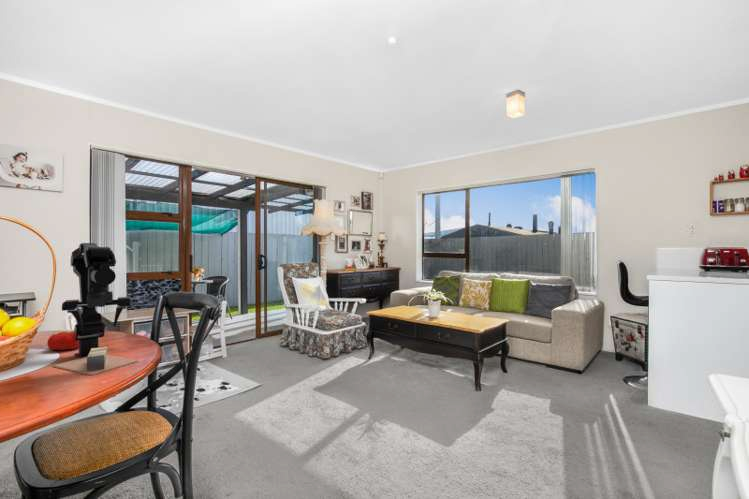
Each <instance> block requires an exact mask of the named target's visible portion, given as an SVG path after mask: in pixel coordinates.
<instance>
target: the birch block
mask: <svg viewBox="0 0 749 499" xmlns="http://www.w3.org/2000/svg"><path fill="white" fill-rule="evenodd" d="M107 355H108V346H103V347H101V346H99V347H98V348H91V351H90V353H89V355H88V357H87V371H95V370H102V369H104V368H105V365H106V362H107Z"/></svg>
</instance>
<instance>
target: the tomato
mask: <svg viewBox="0 0 749 499" xmlns="http://www.w3.org/2000/svg"><path fill="white" fill-rule="evenodd" d="M73 332H74V331H61V332H58V333H54V334H53V333H52V335H50V336H48V337H49V338H48V339H47V343H46V345H47V347H48V349H49V350H51V351H66V350H67V351H68V350H75V349H79V340H78V341H75V340H74V339H73Z"/></svg>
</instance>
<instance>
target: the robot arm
mask: <svg viewBox="0 0 749 499" xmlns="http://www.w3.org/2000/svg"><path fill="white" fill-rule="evenodd" d="M115 255H116V254H115V253H114V251H113V250H112V249H111V247H110V246H98V245H97V243H95V242H81V243H79V246H78V247H77V248H75V250H73V251H72V252H71V256H70V266H71V267H72V271H73V274H75V275H76V276H77V277H78V284H79V295H80V296H79V299H66V300H65V301H63V302H62V303H61V311H66V312H67V313H68V314H71V315H72V316H73V317H74V319H75V320H76V323H75V324H74V328H73V331H72V332H73V339H74V340H75V341H78V340H79V347H78V352H77V353H73V356H75V357H81V358H84V357H88V355H89V353H90V351H91V348H99V338H104V337H105V332H106V331H105V330H106V324H105V322H104V321H103V319H102V314H101V313H100V312H98V311H97V310H96V308H98V307H99V308H102V307H103V308H104V307H105V306H115V305H116V308H115V314H114V320H113V327H114V328H115V327H116V325H117V324H118V320H119V317H120V316H121V313H122V311H123V310H125V309H127V307H131V306H132V297H130V296H118V297H117V299H114V293H113V291H110V290H109V289H110V288H109V287H110V286H109V285H110V284H112V283H113V282H114V281H115V280H116V277H117V276H116V275H117V274H116V272H115V270H113V269H111V268H110V267H115V266H116V264H117V259H116V256H115Z"/></svg>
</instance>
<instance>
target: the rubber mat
mask: <svg viewBox="0 0 749 499" xmlns="http://www.w3.org/2000/svg"><path fill="white" fill-rule="evenodd" d="M136 363H139V360H137V359H132V358H126V357H123V356H122V357H121V356H116V355H111V354H107V362H106V365H105V368H104V369H102V370H95V371H87V357H81V358H76V359H73V360H69V361H65V362H61V363H58V364H53V365H52V367H53V368H56V369H62V370H65V371H71V372H73V373H78V374H79V373H80V374H83V375H88V376H91V377H92V376H94V375H99V374H102V373H105V372H108V371H109V372H110V371H112V370H115V369H119V368H122V367H125V366H129V365H133V364H136Z"/></svg>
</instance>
